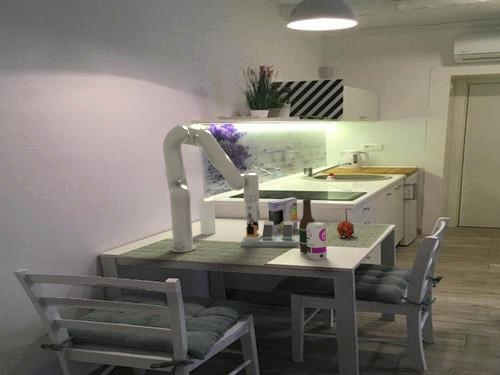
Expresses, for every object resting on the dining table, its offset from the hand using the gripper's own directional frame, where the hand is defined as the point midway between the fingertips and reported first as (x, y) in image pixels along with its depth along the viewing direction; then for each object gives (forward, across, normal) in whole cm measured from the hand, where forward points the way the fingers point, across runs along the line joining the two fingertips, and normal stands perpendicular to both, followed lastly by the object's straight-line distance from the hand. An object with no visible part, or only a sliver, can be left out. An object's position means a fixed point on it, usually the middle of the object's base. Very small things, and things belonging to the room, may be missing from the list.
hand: (253, 232), depth 233 cm
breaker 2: (+2, -2, -18) cm, 18 cm away
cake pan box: (+6, +30, -10) cm, 32 cm away
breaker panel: (+6, 0, -10) cm, 11 cm away
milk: (+6, +21, +32) cm, 38 cm away
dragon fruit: (+6, +17, -44) cm, 48 cm away
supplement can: (+6, -25, -34) cm, 43 cm away
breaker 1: (+2, -2, -8) cm, 8 cm away
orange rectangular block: (+3, 0, +1) cm, 3 cm away
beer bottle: (+6, -15, -30) cm, 34 cm away
